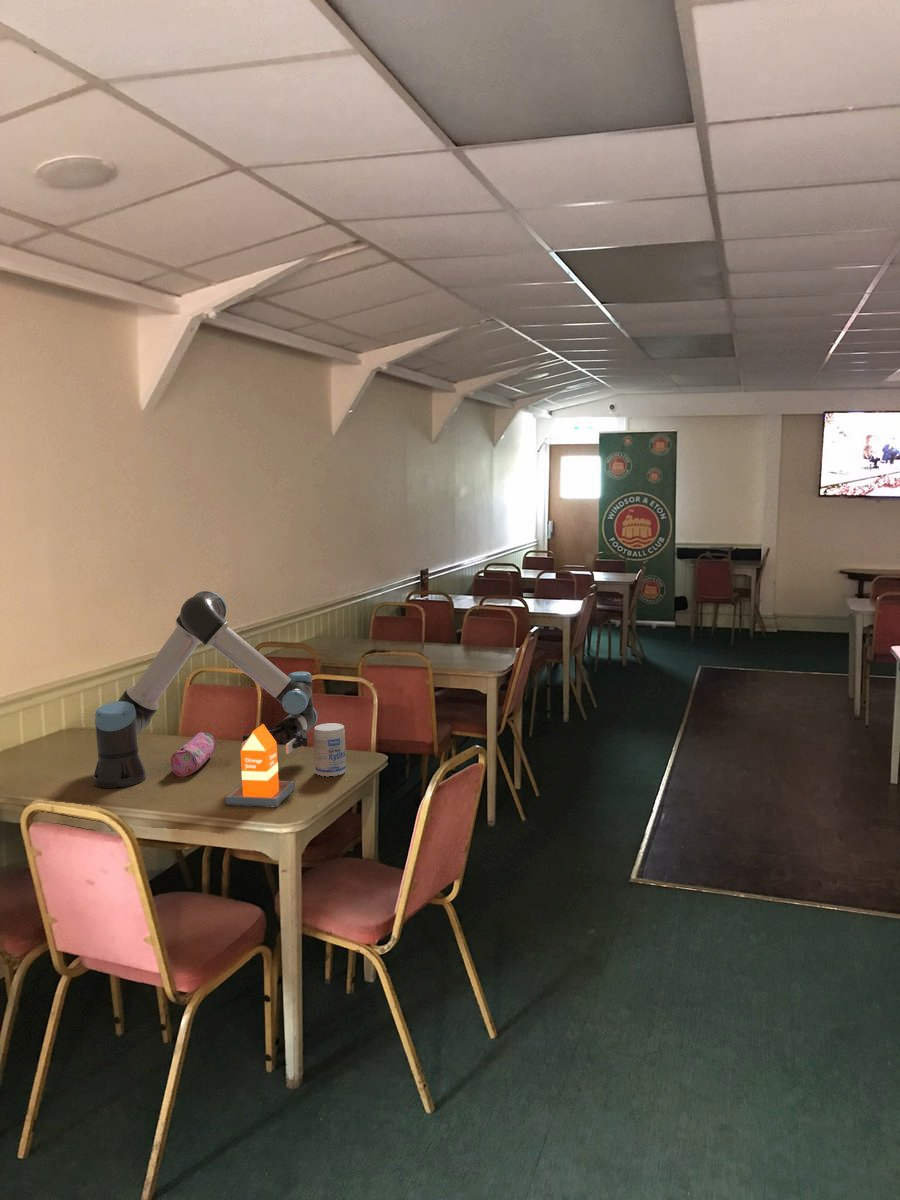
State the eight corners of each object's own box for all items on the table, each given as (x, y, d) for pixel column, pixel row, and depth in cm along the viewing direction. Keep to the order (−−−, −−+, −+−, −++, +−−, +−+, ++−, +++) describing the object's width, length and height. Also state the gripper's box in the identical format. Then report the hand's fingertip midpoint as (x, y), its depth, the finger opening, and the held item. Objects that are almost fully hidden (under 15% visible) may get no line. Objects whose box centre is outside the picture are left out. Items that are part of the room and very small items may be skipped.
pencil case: (197, 777, 284) (195, 749, 283) (168, 777, 285) (166, 749, 284) (219, 756, 305) (217, 730, 304) (192, 756, 306) (190, 730, 305)
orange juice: (242, 800, 261) (238, 731, 259) (254, 789, 270) (250, 723, 267) (268, 801, 260) (265, 732, 257) (279, 790, 269) (276, 723, 266)
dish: (226, 805, 259) (225, 796, 259) (246, 787, 274) (246, 779, 273) (277, 807, 256) (276, 798, 256) (295, 789, 271) (294, 781, 271)
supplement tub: (333, 779, 279) (331, 732, 277) (309, 775, 284) (306, 728, 282) (352, 770, 287) (350, 724, 285) (328, 766, 292) (326, 721, 290)
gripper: (329, 741, 286) (306, 762, 265) (254, 738, 291) (225, 759, 270) (328, 717, 285) (305, 737, 264) (253, 715, 290) (224, 734, 269)
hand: (264, 748), depth 267 cm, fingers open, 13 cm apart
